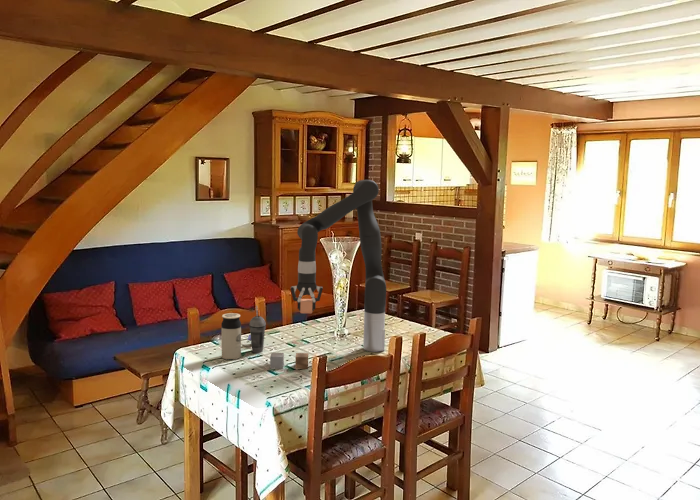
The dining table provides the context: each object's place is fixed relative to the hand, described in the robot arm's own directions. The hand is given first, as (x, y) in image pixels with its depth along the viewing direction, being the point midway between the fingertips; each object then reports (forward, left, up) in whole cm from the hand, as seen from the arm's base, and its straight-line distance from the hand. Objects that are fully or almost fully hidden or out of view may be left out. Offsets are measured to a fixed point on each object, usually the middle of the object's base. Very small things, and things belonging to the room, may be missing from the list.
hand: (306, 310), depth 245 cm
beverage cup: (+21, -3, -20) cm, 29 cm away
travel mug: (+31, +5, -20) cm, 37 cm away
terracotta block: (0, 0, -1) cm, 1 cm away
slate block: (+11, +16, -19) cm, 28 cm away
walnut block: (+1, +16, -19) cm, 25 cm away
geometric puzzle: (+23, -12, -20) cm, 33 cm away
